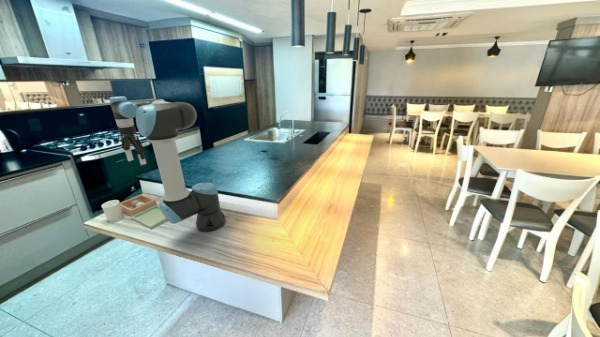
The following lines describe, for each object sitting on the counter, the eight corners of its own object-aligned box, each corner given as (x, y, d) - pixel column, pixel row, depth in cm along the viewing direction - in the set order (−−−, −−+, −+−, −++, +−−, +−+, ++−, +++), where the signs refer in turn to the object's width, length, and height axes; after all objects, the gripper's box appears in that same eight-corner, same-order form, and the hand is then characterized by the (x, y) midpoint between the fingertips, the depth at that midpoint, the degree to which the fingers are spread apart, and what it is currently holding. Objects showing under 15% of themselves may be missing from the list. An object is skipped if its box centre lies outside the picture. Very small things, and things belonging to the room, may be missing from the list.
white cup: (110, 224, 126) (103, 208, 122) (105, 219, 130) (99, 204, 126) (126, 217, 132) (121, 202, 128) (121, 213, 136) (116, 198, 132)
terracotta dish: (157, 206, 142) (155, 199, 140) (133, 218, 131) (130, 210, 129) (144, 201, 149) (142, 194, 147) (120, 211, 138) (117, 204, 136)
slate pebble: (141, 206, 143) (143, 203, 140) (133, 210, 139) (134, 207, 136) (137, 200, 143) (138, 197, 140) (128, 204, 139) (130, 200, 136)
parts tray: (177, 216, 132) (176, 213, 132) (151, 230, 121) (150, 226, 120) (157, 207, 141) (156, 204, 141) (131, 219, 130) (130, 216, 129)
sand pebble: (148, 207, 139) (144, 200, 138) (139, 211, 134) (135, 203, 134) (145, 208, 141) (141, 200, 140) (136, 212, 137) (132, 204, 136)
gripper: (146, 126, 123) (156, 163, 131) (122, 123, 134) (132, 157, 142) (130, 129, 117) (142, 168, 125) (107, 125, 128) (119, 160, 136)
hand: (137, 162), depth 134 cm, fingers open, 13 cm apart
